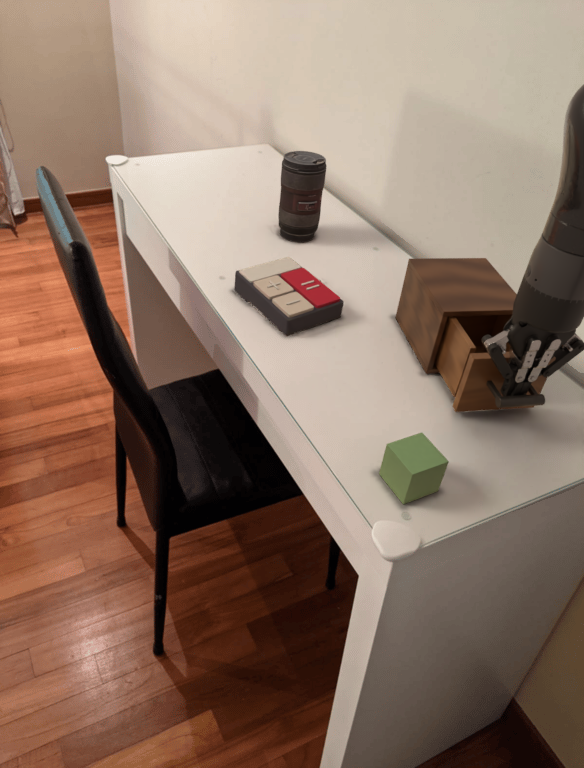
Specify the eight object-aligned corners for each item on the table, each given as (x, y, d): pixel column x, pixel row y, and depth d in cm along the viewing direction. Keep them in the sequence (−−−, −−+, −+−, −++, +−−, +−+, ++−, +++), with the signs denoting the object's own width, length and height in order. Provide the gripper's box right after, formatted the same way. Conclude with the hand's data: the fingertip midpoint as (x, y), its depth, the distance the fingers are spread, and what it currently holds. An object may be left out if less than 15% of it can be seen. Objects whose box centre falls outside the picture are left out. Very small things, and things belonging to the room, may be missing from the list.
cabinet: (506, 370, 90) (530, 309, 83) (425, 374, 88) (443, 311, 81) (467, 315, 101) (485, 257, 94) (395, 317, 98) (408, 258, 92)
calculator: (289, 316, 89) (234, 266, 98) (285, 339, 92) (233, 289, 100) (346, 297, 95) (289, 252, 103) (341, 320, 98) (287, 274, 106)
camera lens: (323, 231, 121) (333, 155, 111) (309, 247, 115) (318, 168, 105) (285, 222, 123) (292, 146, 113) (270, 237, 117) (275, 159, 107)
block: (413, 461, 74) (422, 432, 71) (438, 491, 70) (449, 461, 67) (378, 473, 72) (386, 443, 69) (403, 504, 68) (412, 474, 65)
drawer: (550, 430, 79) (576, 378, 73) (468, 436, 77) (489, 382, 71) (491, 348, 92) (510, 298, 87) (421, 350, 90) (435, 300, 85)
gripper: (520, 299, 62) (474, 422, 73) (633, 296, 65) (572, 416, 76) (490, 263, 68) (451, 382, 79) (595, 262, 71) (543, 378, 82)
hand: (510, 399), depth 77 cm, fingers closed
